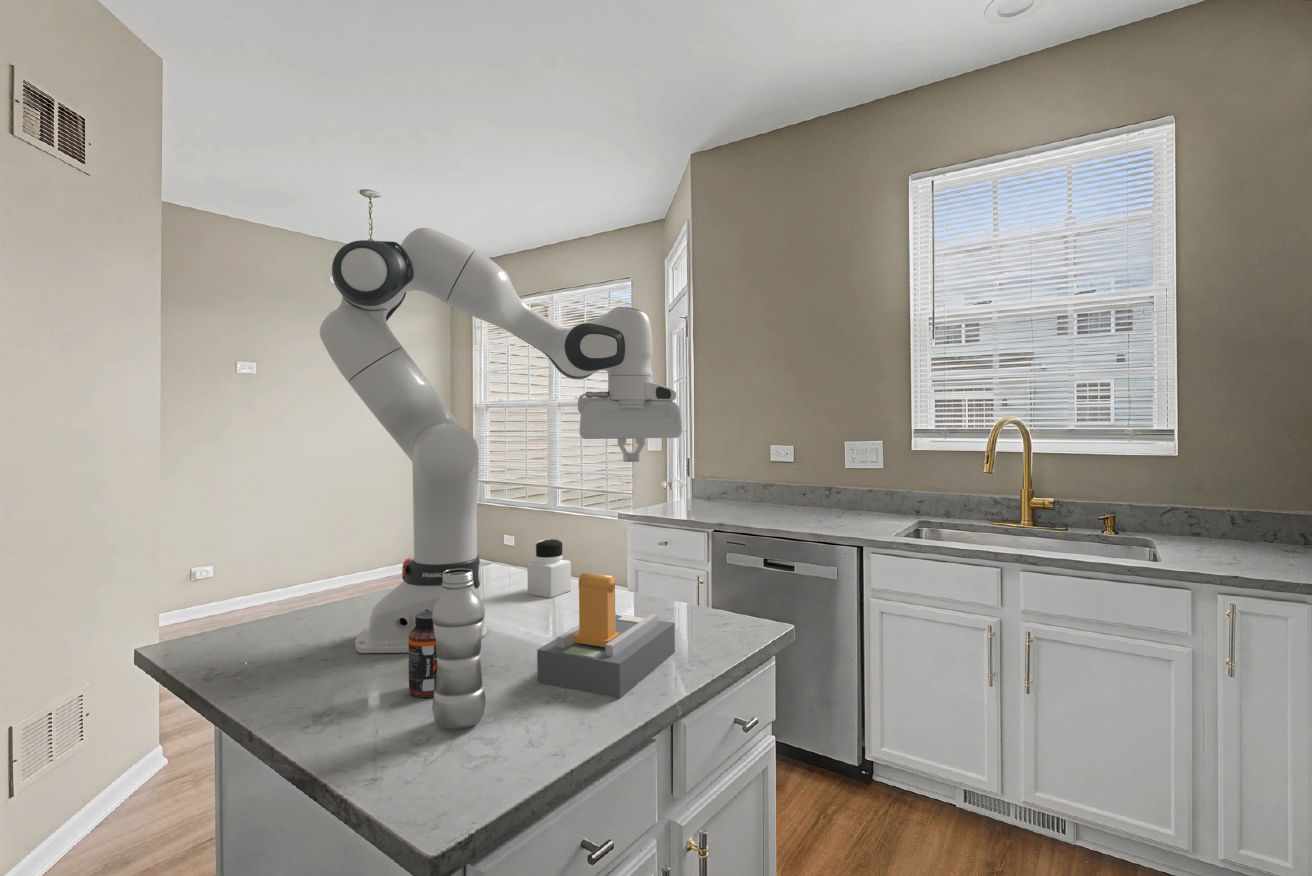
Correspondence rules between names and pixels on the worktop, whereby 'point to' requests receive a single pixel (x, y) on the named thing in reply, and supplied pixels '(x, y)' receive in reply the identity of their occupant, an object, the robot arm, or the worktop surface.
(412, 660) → the supplement bottle
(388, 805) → the worktop surface
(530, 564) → the medicine bottle
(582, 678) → the breaker box
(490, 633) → the worktop surface
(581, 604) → the handle
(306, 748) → the worktop surface
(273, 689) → the worktop surface
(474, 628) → the plastic bottle
